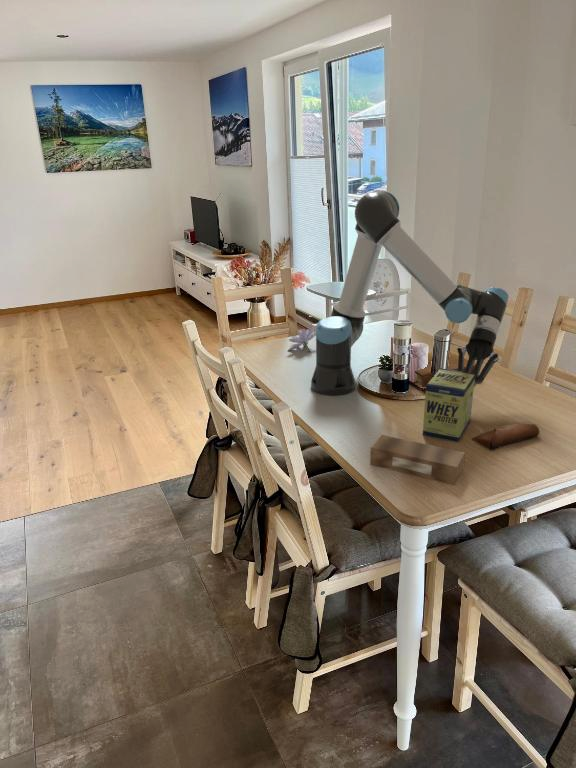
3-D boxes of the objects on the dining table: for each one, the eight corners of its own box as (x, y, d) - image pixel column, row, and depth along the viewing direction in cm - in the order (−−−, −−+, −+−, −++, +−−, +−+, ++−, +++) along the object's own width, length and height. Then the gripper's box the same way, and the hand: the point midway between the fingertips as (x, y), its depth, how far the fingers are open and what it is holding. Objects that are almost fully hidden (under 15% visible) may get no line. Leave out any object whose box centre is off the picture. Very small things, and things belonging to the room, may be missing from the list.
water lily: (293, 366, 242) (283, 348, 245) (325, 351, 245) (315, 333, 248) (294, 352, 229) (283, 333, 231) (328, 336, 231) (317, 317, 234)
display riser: (369, 464, 153) (370, 447, 151) (381, 451, 159) (381, 434, 157) (455, 485, 143) (456, 467, 141) (463, 470, 149) (465, 452, 147)
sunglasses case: (515, 424, 173) (527, 411, 168) (530, 444, 169) (543, 430, 164) (469, 439, 165) (480, 425, 160) (483, 459, 161) (495, 446, 156)
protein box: (421, 435, 168) (425, 385, 162) (436, 414, 180) (440, 367, 174) (459, 443, 163) (464, 391, 157) (471, 421, 176) (476, 372, 170)
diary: (422, 391, 199) (423, 375, 197) (393, 373, 215) (393, 358, 213) (478, 380, 207) (479, 364, 205) (445, 363, 223) (446, 349, 221)
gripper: (462, 324, 186) (439, 390, 179) (504, 330, 179) (482, 399, 173) (466, 336, 192) (444, 400, 185) (507, 342, 185) (486, 409, 179)
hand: (462, 399), depth 179 cm, fingers closed
